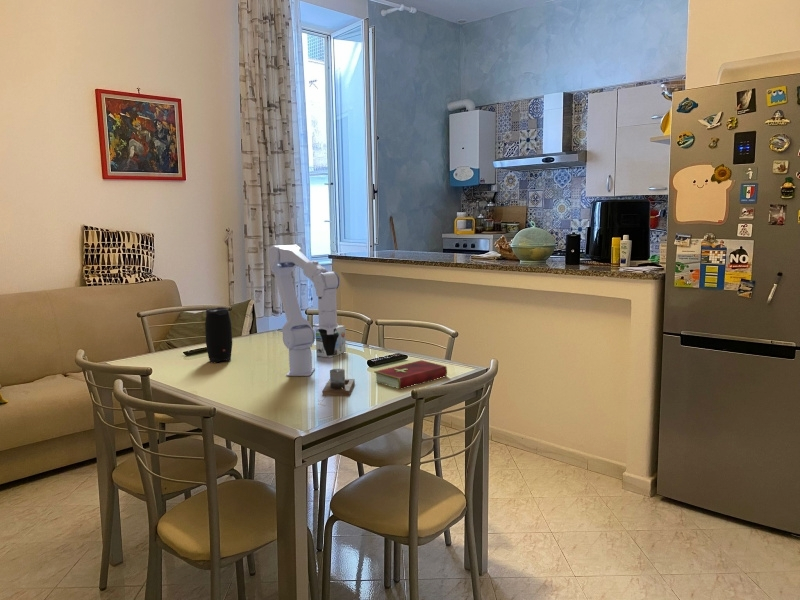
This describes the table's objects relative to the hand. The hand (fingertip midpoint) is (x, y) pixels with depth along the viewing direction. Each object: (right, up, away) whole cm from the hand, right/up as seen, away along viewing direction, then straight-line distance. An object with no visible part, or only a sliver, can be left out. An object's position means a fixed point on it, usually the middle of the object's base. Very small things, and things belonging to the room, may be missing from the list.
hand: (328, 352), depth 192 cm
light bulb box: (-4, -4, +41) cm, 42 cm away
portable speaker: (-44, -6, +33) cm, 56 cm away
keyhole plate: (+4, -11, -6) cm, 13 cm away
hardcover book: (+26, -10, +5) cm, 28 cm away
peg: (+4, -11, -9) cm, 15 cm away
